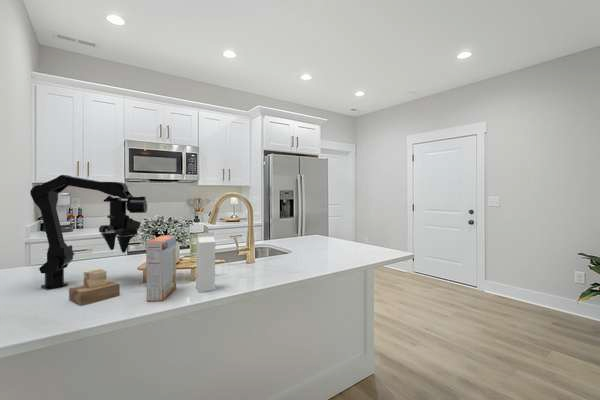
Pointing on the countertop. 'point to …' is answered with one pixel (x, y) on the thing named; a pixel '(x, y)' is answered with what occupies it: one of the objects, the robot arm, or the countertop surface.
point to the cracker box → (160, 267)
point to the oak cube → (94, 278)
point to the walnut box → (93, 293)
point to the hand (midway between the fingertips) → (117, 251)
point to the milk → (205, 262)
